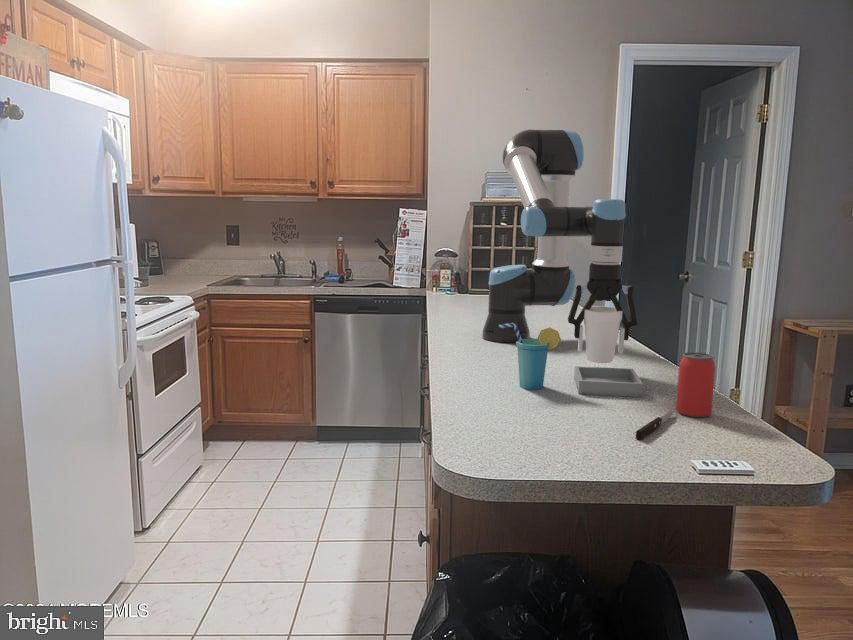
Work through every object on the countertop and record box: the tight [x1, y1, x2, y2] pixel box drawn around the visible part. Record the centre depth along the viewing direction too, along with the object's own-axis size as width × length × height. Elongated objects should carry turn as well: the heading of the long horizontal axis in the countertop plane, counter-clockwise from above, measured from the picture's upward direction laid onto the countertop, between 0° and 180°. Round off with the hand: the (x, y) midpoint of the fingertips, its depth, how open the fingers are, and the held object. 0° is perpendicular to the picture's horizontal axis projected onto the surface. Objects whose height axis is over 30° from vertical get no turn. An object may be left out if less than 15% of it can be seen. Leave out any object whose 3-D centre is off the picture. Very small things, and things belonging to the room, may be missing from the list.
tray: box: [573, 365, 644, 398], centre depth 142 cm, size 14×14×3 cm
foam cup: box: [583, 305, 624, 364], centre depth 154 cm, size 10×9×13 cm
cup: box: [499, 323, 562, 391], centre depth 141 cm, size 14×8×15 cm, turn 87°
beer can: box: [675, 351, 716, 419], centre depth 123 cm, size 7×7×12 cm
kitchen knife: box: [635, 411, 674, 441], centre depth 115 cm, size 18×1×2 cm, turn 140°
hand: (600, 351), depth 155 cm, fingers closed on foam cup, 9 cm apart
